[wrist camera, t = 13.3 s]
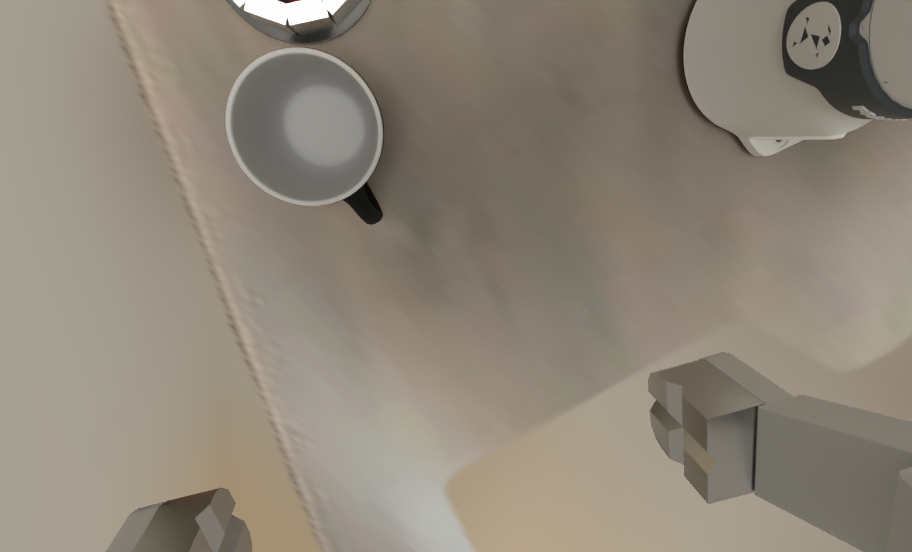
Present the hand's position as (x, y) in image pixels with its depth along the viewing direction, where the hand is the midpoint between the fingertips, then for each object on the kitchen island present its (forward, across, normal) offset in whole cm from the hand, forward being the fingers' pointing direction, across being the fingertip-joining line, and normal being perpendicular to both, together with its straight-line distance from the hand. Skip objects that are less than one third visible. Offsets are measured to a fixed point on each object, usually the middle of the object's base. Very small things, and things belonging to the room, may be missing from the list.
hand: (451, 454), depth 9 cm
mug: (+32, +4, -5) cm, 33 cm away
